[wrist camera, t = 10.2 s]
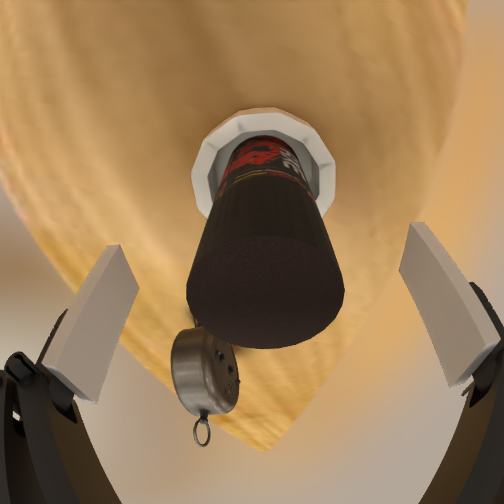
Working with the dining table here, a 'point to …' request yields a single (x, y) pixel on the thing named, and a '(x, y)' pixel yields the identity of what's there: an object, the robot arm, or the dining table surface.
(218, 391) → the alarm clock
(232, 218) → the deodorant
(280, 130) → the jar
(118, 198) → the dining table surface
